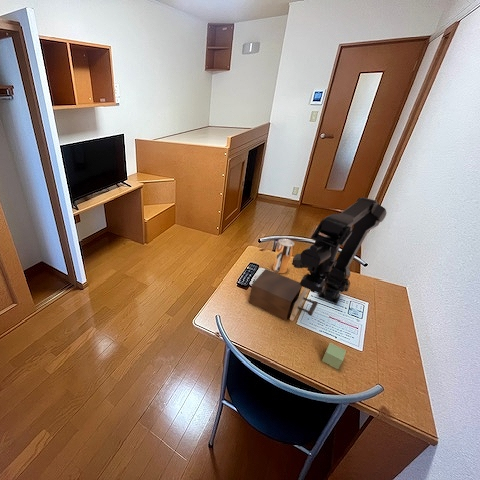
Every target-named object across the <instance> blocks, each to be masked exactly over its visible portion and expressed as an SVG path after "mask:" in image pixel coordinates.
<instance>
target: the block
mask: <svg viewBox="0 0 480 480" xmlns="http://www.w3.org/2000/svg"><path fill="white" fill-rule="evenodd" d="M346 352H347V350H346V349H344V348H342V347H340V346H338V345H336V344H334V343H332V342H329V344H328V346H327V347H326V350H325V352H324V354H323V357H322V360H321V362H323V363H325V364H327V365H328V366H331V367H332V368H334V369H336V370H339V369H340V368H341V366H342V363H343V361H344V359H345V356H346Z"/></svg>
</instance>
